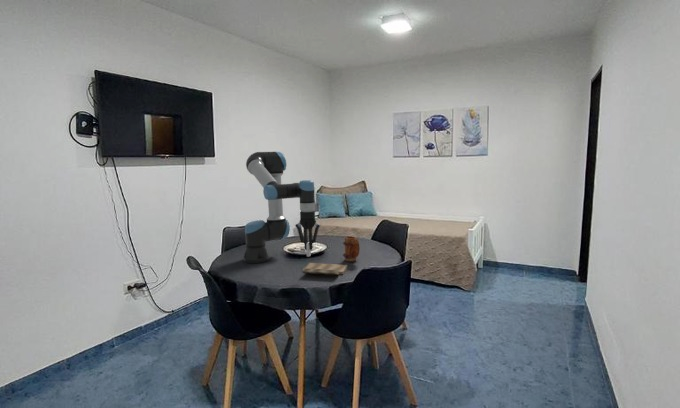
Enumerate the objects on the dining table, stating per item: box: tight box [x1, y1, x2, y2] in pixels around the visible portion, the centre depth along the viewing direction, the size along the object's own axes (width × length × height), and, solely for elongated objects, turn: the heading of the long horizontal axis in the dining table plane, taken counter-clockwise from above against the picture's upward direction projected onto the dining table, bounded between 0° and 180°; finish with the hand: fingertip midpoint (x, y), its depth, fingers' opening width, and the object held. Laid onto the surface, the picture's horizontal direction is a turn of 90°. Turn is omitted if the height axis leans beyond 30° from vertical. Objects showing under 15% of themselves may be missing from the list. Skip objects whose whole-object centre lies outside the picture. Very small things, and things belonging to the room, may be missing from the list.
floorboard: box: [304, 262, 348, 275], centre depth 206 cm, size 22×12×2 cm, turn 78°
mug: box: [342, 235, 360, 262], centre depth 219 cm, size 15×8×15 cm, turn 23°
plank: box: [302, 267, 339, 276], centre depth 196 cm, size 18×8×2 cm, turn 78°
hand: (308, 255), depth 193 cm, fingers closed
